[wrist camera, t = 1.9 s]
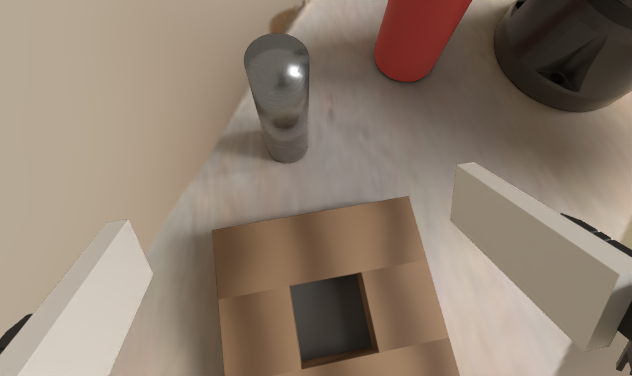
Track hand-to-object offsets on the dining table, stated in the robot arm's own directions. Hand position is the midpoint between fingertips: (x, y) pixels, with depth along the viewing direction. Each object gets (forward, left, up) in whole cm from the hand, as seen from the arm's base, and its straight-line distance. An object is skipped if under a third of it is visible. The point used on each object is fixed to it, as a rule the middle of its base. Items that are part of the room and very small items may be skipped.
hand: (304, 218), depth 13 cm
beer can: (-14, -19, -16) cm, 28 cm away
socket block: (-1, +5, -15) cm, 16 cm away
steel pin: (0, -11, -15) cm, 19 cm away
